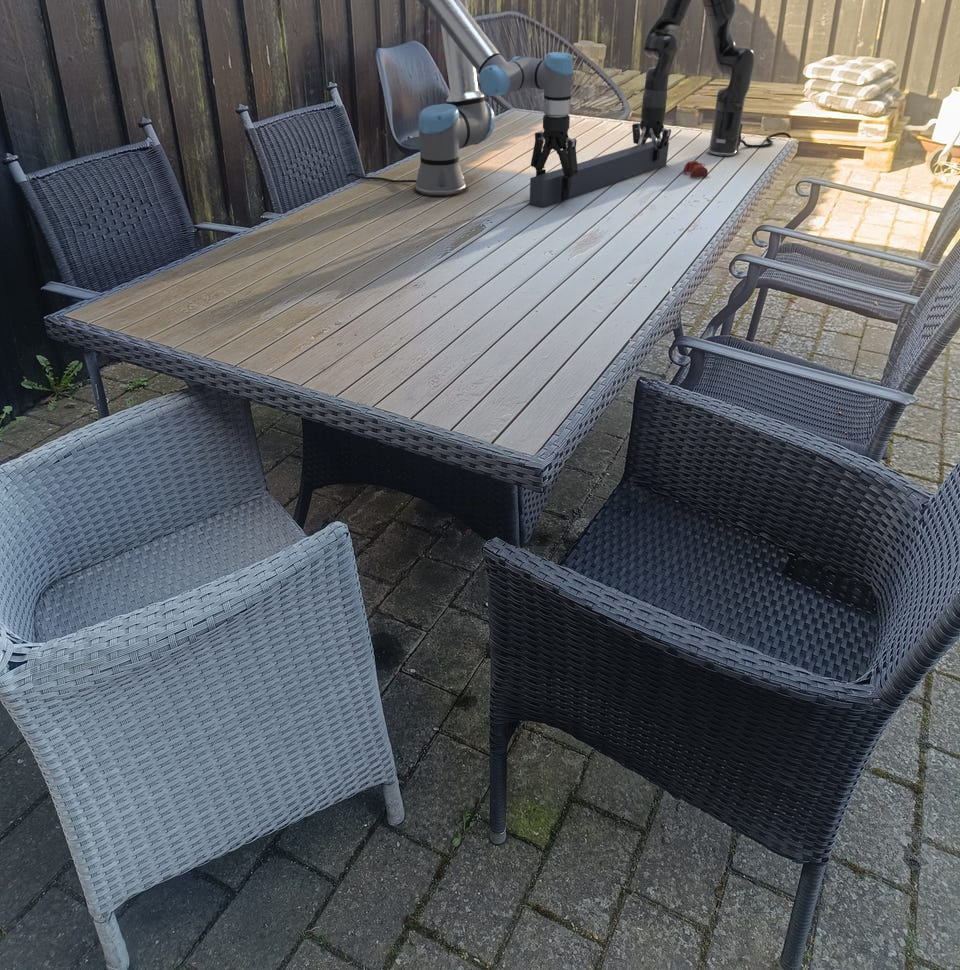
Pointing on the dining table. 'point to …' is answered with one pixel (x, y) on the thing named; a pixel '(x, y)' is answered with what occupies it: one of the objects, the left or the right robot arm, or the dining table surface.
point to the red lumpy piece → (696, 169)
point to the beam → (596, 173)
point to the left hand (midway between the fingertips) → (552, 195)
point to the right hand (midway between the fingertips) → (647, 159)
